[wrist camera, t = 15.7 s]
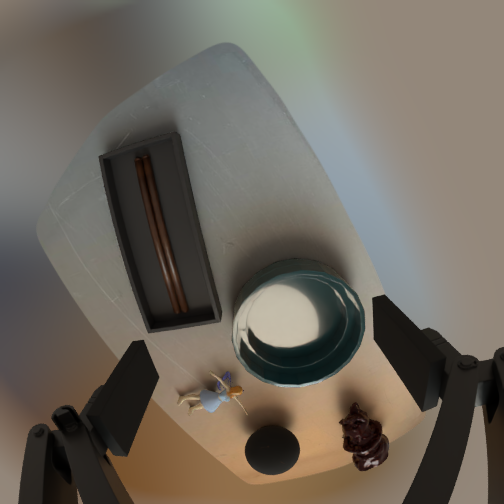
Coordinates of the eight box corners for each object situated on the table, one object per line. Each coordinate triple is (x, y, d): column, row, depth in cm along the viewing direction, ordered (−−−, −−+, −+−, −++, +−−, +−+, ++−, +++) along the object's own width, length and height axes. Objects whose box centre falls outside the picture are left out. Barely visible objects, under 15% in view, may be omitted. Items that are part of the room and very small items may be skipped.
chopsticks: (135, 158, 38) (132, 157, 37) (150, 153, 38) (147, 152, 37) (175, 312, 43) (174, 315, 42) (190, 310, 43) (188, 313, 42)
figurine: (360, 433, 57) (333, 387, 53) (399, 438, 49) (379, 391, 45) (340, 467, 50) (307, 427, 47) (380, 476, 43) (355, 436, 39)
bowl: (345, 246, 42) (360, 257, 36) (354, 350, 47) (366, 370, 41) (221, 272, 43) (217, 287, 37) (247, 373, 47) (248, 397, 41)
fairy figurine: (160, 394, 44) (219, 374, 41) (168, 376, 49) (224, 355, 46) (201, 434, 47) (258, 419, 44) (205, 416, 51) (260, 400, 48)
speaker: (262, 409, 49) (265, 449, 40) (306, 424, 51) (314, 462, 41) (235, 438, 51) (234, 476, 42) (277, 451, 53) (281, 487, 43)
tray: (180, 134, 38) (174, 131, 35) (222, 312, 44) (220, 322, 41) (107, 157, 38) (98, 156, 35) (153, 324, 45) (148, 333, 42)
